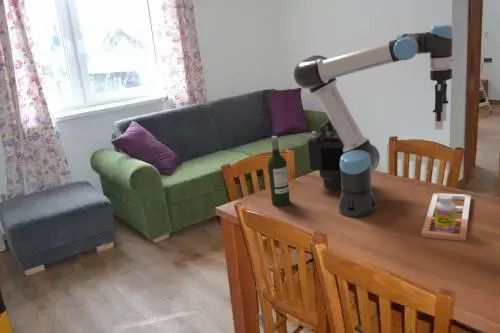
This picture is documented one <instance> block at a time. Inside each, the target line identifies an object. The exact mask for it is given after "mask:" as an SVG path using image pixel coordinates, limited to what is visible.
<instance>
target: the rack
mask: <svg viewBox="0 0 500 333" xmlns="http://www.w3.org/2000/svg"><path fill="white" fill-rule="evenodd" d="M441 194H445V193H441V192H433V194H432V197H431V200H430V202H429V203H430V204H429V206H428V209H427V212H426V213H427V215H425V216H426V217H425V220H424V223H423V227H422V230H421V237H422V238H429V239H430V238H431V239H441V240H451V241H463V242H465V241H466V240H467V231H468V225H469V224H468V223H469V216H470V215H469V214H470V210H471V209H470V206H471V200H472V195H471V194H464V193H463V194H461V193H459V194H457V193H449V194H450V195H452V196H453V200H456V201H457V200H461V201H463V205H456V213H457V212H460V213H462V215H461V218H455V226H460V229H459V233H455V232H452V233H446V232H438V231H436V230H435V231H433V230H431V226H432V224H435V204H436V203H437V202H438V201H439V200H438V196H439V195H441Z"/></svg>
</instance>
